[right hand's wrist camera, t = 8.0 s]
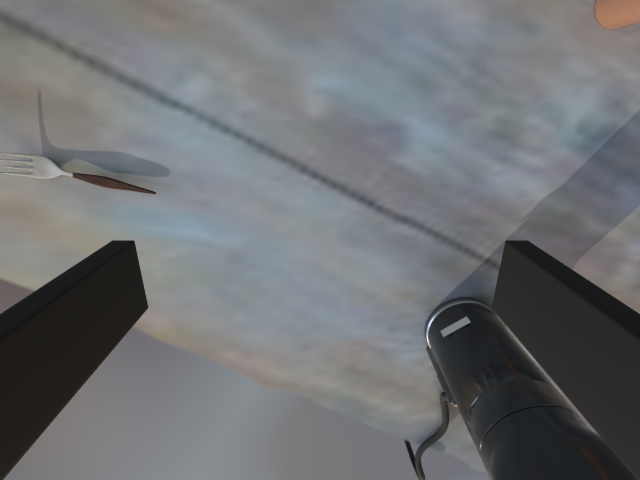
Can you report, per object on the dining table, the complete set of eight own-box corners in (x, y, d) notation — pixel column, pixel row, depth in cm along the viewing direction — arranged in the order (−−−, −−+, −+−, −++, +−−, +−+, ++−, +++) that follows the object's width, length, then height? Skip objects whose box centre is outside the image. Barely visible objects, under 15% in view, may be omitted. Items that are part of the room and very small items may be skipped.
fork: (157, 203, 40) (149, 207, 38) (13, 171, 39) (-3, 174, 37) (158, 181, 39) (150, 185, 37) (11, 148, 38) (-5, 150, 36)
